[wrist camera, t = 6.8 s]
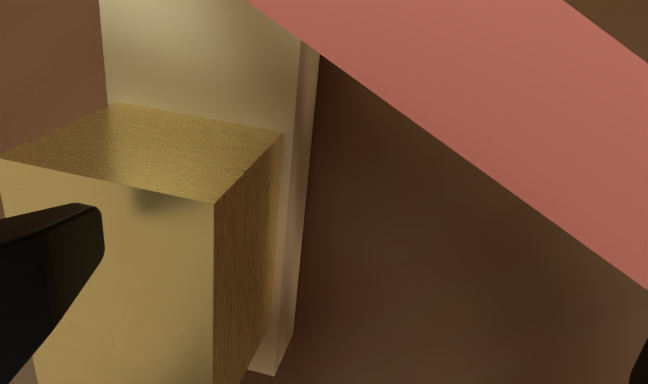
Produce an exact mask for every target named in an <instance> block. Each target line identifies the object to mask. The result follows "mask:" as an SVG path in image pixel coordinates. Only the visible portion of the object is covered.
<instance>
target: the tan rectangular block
mask: <svg viewBox="0 0 648 384" xmlns="http://www.w3.org/2000/svg"><path fill="white" fill-rule="evenodd" d="M283 133H284V132H281V131H275V130H270V129H264V128H259V127H254V126H248V125H243V124H237V123H232V122H226V121H221V120H216V119H210V118H205V117H199V116H194V115H188V114H183V113H177V112H172V111H167V110H161V109H156V108H150V107H145V106H139V105H134V104H129V103H123V102H118V101H116V102H113V103H111V104H109V105H107V106H105V107H103V108H100V109H98V110H96V111H94V112H92V113H89V114H87V115H85V116H83V117H81V118H78V119H76V120H74V121H72V122H70V123H67V124H65V125H63V126H61V127H59V128H56V129H54V130H52V131H50V132H48V133H45V134H43V135H41V136H39V137H37V138H34V139H32V140H30V141H28V142H26V143H23V144H21V145H19V146H17V147H15V148H12V149H10V150H8V151H6V152H4V153H2V154H0V193H1V198H2V203H3V208H4V213H5V218H7V217H12V216H16V215H21V214H25V213H30V212H34V211H38V210H43V209H47V208H52V207H56V206H60V205H65V204H69V203H82V204H87V205H91V206H95V207H97V208H98V209H99V210H100V212H101V214H102V222H103V232H104V242H105V252H104V256H103V259H102V261H101V263H100V264H99V266H98V267H97V268H96V270H95V271H94V273H93V274H92V276H91V277H90V279H89V280H88V282H87V283H86V284H85V286H84V287H83V289H82V290H81V292H80V293H79V295H78V296H77V297H76V299H75V300H74V302H73V303H72V305H71V306H70V308H69V309H68V311H67V312H66V313H65V315H64V316H63V318H62V319H61V321H60V322H59V323H58V325H57V326H56V327H55V329H54V330H53V331H52V333H51V334H50V335H49V336H48V338H47V339H46V340H45V341H44V343H43V344H42V345H41V346H40V347H39V348H38V350H37V351H36V352H35V353H34V354H33V361H34V366H35V371H36V376H37V381H38V384H240V382H241V380H242V378H243V376H244V374H245V372H246V370H247V368H248V366H249V364H250V362H251V361H252V359H253V357H254V355H255V353H256V351H257V349H258V347H259V345H260V343H261V341H262V339H263V337H264V335H265V333H266V331H267V329H268V328H269V326H270V319H271V304H272V290H273V276H274V261H275V247H276V233H277V218H278V204H279V190H280V175H281V161H282V147H283Z"/></svg>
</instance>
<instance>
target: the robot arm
mask: <svg viewBox="0 0 648 384" xmlns="http://www.w3.org/2000/svg"><path fill="white" fill-rule="evenodd" d="M104 252H105V242H104V232H103V222H102V214H101V212H100V210H99V209H98V208H97V207H95V206H91V205H87V204H82V203H69V204H65V205H60V206H56V207H52V208H47V209H43V210H38V211H34V212H30V213H25V214H21V215H16V216H12V217H7V218H3V219H0V384H9V383H10V381H11V380H12V379H13V378H14V377H15V376H16V374H17V373H18V372H19V371H20V370H21V368H22V367H23V366H24V365H25V364H26V363H27V361H28V360H29V359H30V358H31V357H32V356H33V354H34V353H35V352H36V351H37V350H38V348H39V347H40V346H41V345H42V344H43V343H44V341H45V340H46V339H47V338H48V336H49V335H50V334H51V333H52V331H53V330H54V329H55V327H56V326H57V325H58V323H59V322H60V321H61V319H62V318H63V316H64V315H65V313H66V312H67V311H68V309H69V308H70V306H71V305H72V303H73V302H74V300H75V299H76V297H77V296H78V295H79V293H80V292H81V290H82V289H83V287H84V286H85V284H86V283H87V282H88V280H89V279H90V277H91V276H92V274H93V273H94V271H95V270H96V268H97V267H98V266H99V264H100V263H101V261H102V259H103V256H104ZM629 384H648V339H647V340H646V342H645V344H644V346H643V349H642V351H641V353H640V355H639V357H638V359H637V361H636V363H635V365H634V367H633V369H632V371H631V374H630V379H629Z"/></svg>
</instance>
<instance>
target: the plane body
mask: <svg viewBox="0 0 648 384" xmlns="http://www.w3.org/2000/svg"><path fill="white" fill-rule="evenodd" d="M99 7H100V19H101V30H102V42H103V53H104V65H105V76H106V88H107V100H108V105H109V104H111V103H113V102H116V101H118V102H123V103H129V104H134V105H139V106H145V107H150V108H156V109H161V110H167V111H172V112H177V113H183V114H188V115H194V116H199V117H205V118H210V119H216V120H221V121H226V122H232V123H237V124H243V125H248V126H254V127H259V128H264V129H270V130H275V131H281V132H284V133H283V147H282V161H281V175H280V190H279V204H278V218H277V233H276V247H275V261H274V276H273V290H272V304H271V319H270V326H269V328H268V329H267V331H266V333H265V335H264V337H263V339H262V341H261V343H260V345H259V347H258V349H257V351H256V353H255V355H254V357H253V359H252V361H251V362H250V364H249V366H248V368H247V369H248V370H251V371H255V372H259V373H263V374H266V375H270V376H275V374H276V372H277V369H278V367H279V365H280V363H281V360H282V358H283V356H284V354H285V351H286V349H287V347H288V345H289V342H290V340H291V338H292V336H293V329H294V319H295V308H296V298H297V288H298V277H299V267H300V256H301V246H302V236H303V225H304V215H305V204H306V194H307V184H308V173H309V163H310V152H311V142H312V131H313V121H314V111H315V100H316V90H317V79H318V69H319V59H320V53H318V52H317V51H315V50H314V49H313V48H311V47H310V46H308V45H307V44H306V43H304V42H303V41H301V40H300V39H299V38H297V37H296V36H295V35H293V34H292V33H290V32H289V31H288V30H286V29H285V28H283V27H282V26H281V25H279V24H278V23H277V22H275V21H274V20H272V19H271V18H270V17H268V16H267V15H265V14H264V13H263V12H261V11H260V10H259V9H257V8H256V7H254V6H253V5H252V4H250V3H249V2H247V1H246V0H99Z"/></svg>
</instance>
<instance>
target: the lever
mask: <svg viewBox="0 0 648 384" xmlns="http://www.w3.org/2000/svg"><path fill="white" fill-rule="evenodd" d="M246 1H247V2H249V3H250V4H252V5H253V6H254V7H256V8H257V9H259V10H260V11H261V12H263V13H264V14H265V15H267V16H268V17H270V18H271V19H272V20H274V21H275V22H277V23H278V24H279V25H281V26H282V27H283V28H285V29H286V30H288V31H289V32H290V33H292V34H293V35H295V36H296V37H297V38H299V39H300V40H301V41H303V42H304V43H306V44H307V45H308V46H310V47H311V48H313V49H314V50H315V51H317V52H318V53H320V54H321V55H322V56H324V57H325V58H326V59H328V60H329V61H331V62H332V63H333V64H335V65H336V66H338V67H339V68H340V69H342V70H343V71H344V72H346V73H347V74H349V75H350V76H351V77H353V78H354V79H356V80H357V81H358V82H360V83H361V84H362V85H364V86H365V87H367V88H368V89H369V90H371V91H372V92H374V93H375V94H376V95H378V96H379V97H380V98H382V99H383V100H385V101H386V102H387V103H389V104H390V105H392V106H393V107H394V108H396V109H397V110H398V111H400V112H401V113H403V114H404V115H405V116H407V117H408V118H410V119H411V120H412V121H414V122H415V123H416V124H418V125H419V126H421V127H422V128H423V129H425V130H426V131H428V132H429V133H430V134H432V135H433V136H434V137H436V138H437V139H439V140H440V141H441V142H443V143H444V144H446V145H447V146H448V147H450V148H451V149H453V150H454V151H455V152H457V153H458V154H459V155H461V156H462V157H464V158H465V159H466V160H468V161H469V162H471V163H472V164H473V165H475V166H476V167H477V168H479V169H480V170H482V171H483V172H484V173H486V174H487V175H489V176H490V177H491V178H493V179H494V180H495V181H497V182H498V183H500V184H501V185H502V186H504V187H505V188H507V189H508V190H509V191H511V192H512V193H513V194H515V195H516V196H518V197H519V198H520V199H522V200H523V201H525V202H526V203H527V204H529V205H530V206H531V207H533V208H534V209H536V210H537V211H538V212H540V213H541V214H543V215H544V216H545V217H547V218H548V219H549V220H551V221H552V222H554V223H555V224H556V225H558V226H559V227H561V228H562V229H563V230H565V231H566V232H567V233H569V234H570V235H572V236H573V237H574V238H576V239H577V240H579V241H580V242H581V243H583V244H584V245H585V246H587V247H588V248H590V249H591V250H592V251H594V252H595V253H597V254H598V255H599V256H601V257H602V258H604V259H605V260H606V261H608V262H609V263H610V264H612V265H613V266H615V267H616V268H617V269H619V270H620V271H622V272H623V273H624V274H626V275H627V276H628V277H630V278H631V279H633V280H634V281H635V282H637V283H638V284H640V285H641V286H642V287H644V288H645V289H646V290H648V64H647V63H646V62H645V61H643V60H642V59H641V58H639V57H638V56H637V55H635V54H634V53H633V52H631V51H630V50H629V49H627V48H626V47H625V46H623V45H622V44H621V43H619V42H618V41H617V40H615V39H614V38H613V37H611V36H610V35H609V34H607V33H606V32H605V31H603V30H602V29H601V28H599V27H598V26H597V25H595V24H594V23H593V22H591V21H590V20H589V19H587V18H586V17H585V16H583V15H582V14H581V13H579V12H578V11H577V10H575V9H574V8H573V7H571V6H570V5H569V4H567V3H566V2H565V1H563V0H246Z"/></svg>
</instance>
